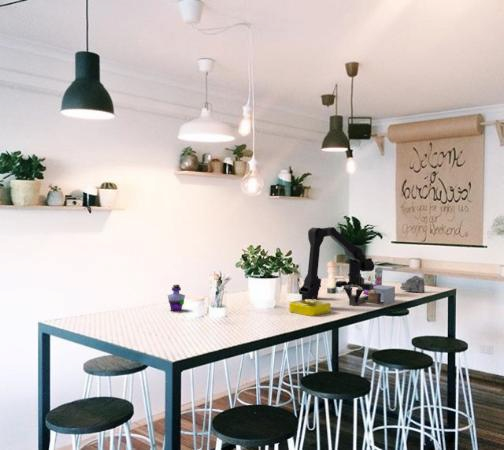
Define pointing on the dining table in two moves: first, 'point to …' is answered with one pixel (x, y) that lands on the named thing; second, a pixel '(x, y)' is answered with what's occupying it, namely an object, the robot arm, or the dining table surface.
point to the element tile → (309, 307)
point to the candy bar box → (373, 279)
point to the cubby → (386, 293)
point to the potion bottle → (176, 299)
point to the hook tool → (353, 300)
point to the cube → (374, 298)
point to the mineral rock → (414, 285)
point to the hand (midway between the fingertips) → (354, 302)
